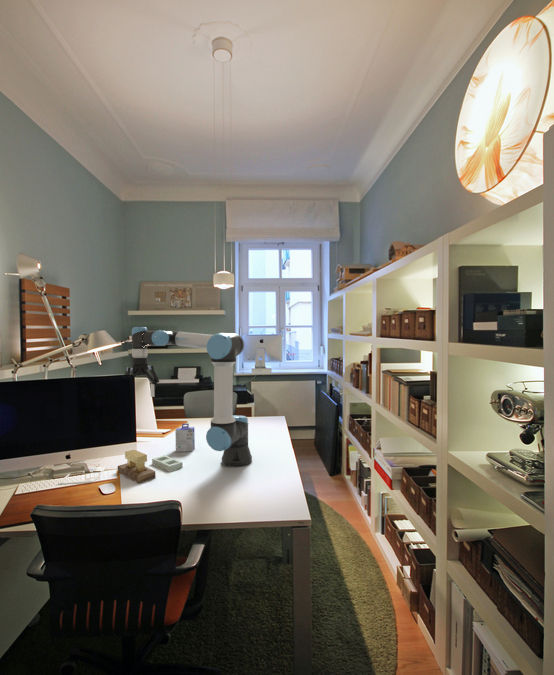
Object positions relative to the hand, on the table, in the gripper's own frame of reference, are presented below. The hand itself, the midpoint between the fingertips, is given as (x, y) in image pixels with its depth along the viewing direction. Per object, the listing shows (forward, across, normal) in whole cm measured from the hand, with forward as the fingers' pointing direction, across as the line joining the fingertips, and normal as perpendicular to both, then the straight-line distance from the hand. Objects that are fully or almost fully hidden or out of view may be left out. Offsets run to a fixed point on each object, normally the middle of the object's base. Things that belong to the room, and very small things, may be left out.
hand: (140, 398), depth 190 cm
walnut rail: (+32, +12, +18) cm, 38 cm away
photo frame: (+32, +28, 0) cm, 43 cm away
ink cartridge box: (+32, -24, +4) cm, 40 cm away
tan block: (+32, +12, +18) cm, 38 cm away
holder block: (+32, -4, +18) cm, 37 cm away
